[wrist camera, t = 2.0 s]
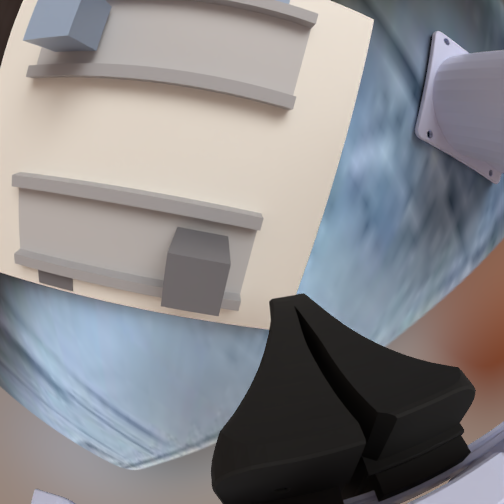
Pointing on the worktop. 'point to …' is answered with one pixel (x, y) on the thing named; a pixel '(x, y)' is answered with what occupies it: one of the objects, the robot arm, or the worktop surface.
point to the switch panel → (177, 146)
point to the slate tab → (67, 24)
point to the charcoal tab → (196, 271)
